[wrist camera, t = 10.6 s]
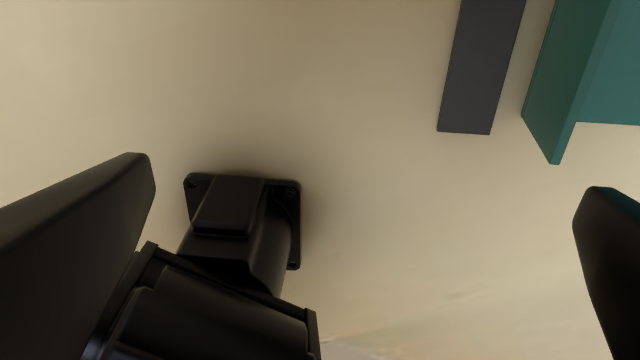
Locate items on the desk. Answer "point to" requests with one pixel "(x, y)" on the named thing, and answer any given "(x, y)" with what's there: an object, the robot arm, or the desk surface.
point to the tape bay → (478, 64)
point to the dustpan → (585, 71)
